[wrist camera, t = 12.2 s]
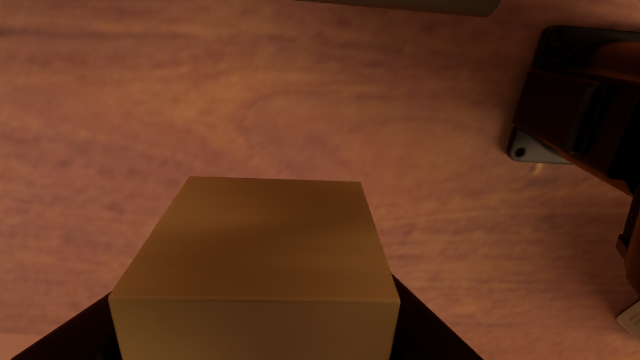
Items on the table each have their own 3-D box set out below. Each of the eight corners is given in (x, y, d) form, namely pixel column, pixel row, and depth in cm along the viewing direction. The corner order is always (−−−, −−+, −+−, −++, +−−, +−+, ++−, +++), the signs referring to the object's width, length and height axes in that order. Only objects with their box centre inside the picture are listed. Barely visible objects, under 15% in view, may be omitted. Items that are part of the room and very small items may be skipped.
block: (360, 180, 9) (401, 300, 5) (346, 309, 10) (370, 468, 7) (189, 175, 9) (105, 297, 5) (202, 308, 10) (146, 472, 7)
